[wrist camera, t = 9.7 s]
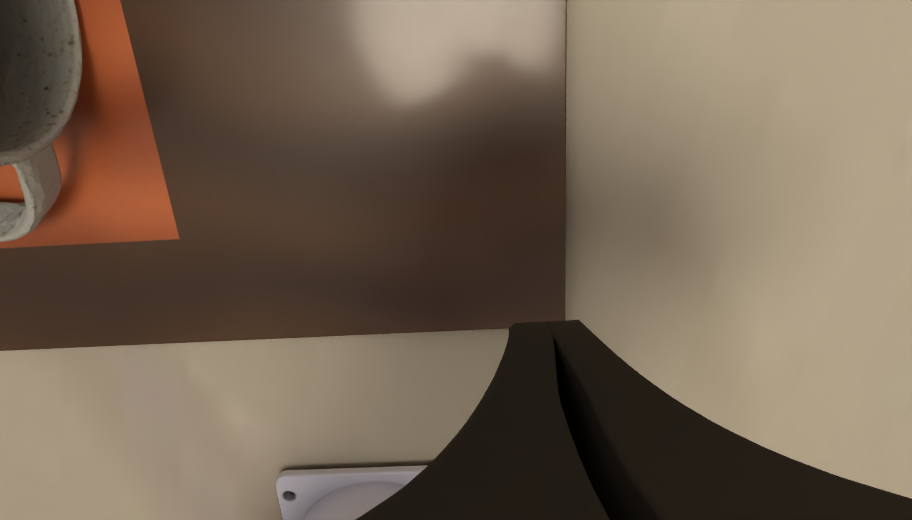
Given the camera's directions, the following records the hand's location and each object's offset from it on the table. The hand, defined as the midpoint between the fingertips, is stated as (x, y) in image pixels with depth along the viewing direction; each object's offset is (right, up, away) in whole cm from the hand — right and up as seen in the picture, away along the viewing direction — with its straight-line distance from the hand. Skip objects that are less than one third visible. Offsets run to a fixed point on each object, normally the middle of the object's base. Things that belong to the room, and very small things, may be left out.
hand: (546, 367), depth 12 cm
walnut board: (-11, +6, +8) cm, 15 cm away
